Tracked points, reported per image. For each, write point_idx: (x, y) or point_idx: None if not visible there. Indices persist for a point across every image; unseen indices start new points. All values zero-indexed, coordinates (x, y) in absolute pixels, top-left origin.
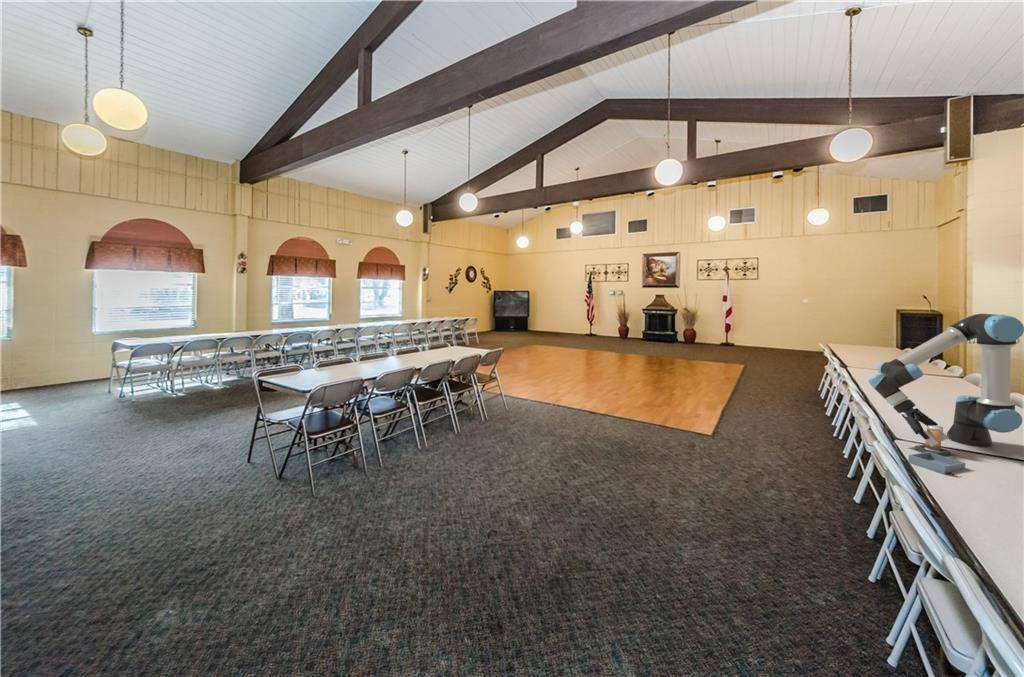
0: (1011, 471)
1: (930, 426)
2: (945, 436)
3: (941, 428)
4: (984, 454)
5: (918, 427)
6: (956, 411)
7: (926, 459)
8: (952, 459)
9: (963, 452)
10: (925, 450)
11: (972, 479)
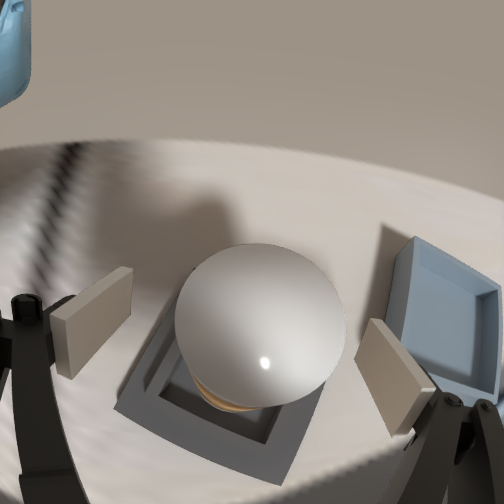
0: (239, 150)
1: (317, 366)
2: (123, 280)
3: (304, 258)
4: (61, 196)
5: (496, 420)
6: None
7: None
8: (416, 273)
9: (74, 251)
10: (294, 401)
11: (443, 242)
